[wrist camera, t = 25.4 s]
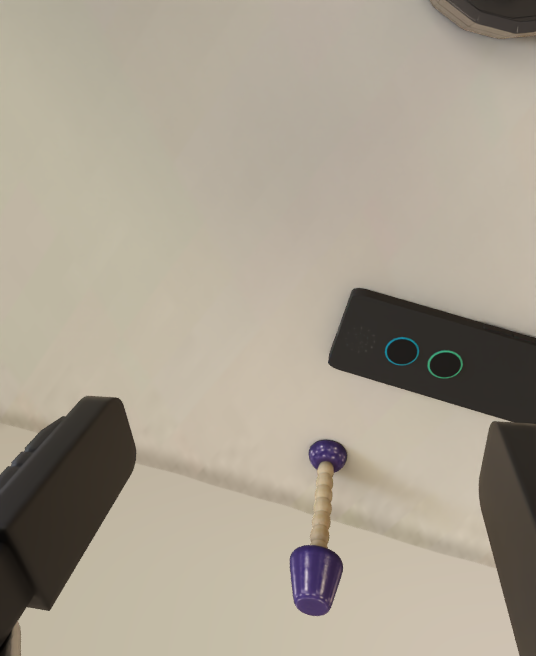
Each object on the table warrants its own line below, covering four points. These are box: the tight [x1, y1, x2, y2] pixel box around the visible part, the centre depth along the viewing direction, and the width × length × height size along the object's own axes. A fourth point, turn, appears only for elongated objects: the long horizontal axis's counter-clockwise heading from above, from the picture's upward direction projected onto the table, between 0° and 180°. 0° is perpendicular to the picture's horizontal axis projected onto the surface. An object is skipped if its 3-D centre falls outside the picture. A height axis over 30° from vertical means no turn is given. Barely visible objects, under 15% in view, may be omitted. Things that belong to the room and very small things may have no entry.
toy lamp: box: [290, 440, 347, 616], centre depth 43 cm, size 5×5×17 cm
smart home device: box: [328, 288, 536, 424], centre depth 41 cm, size 8×2×20 cm
